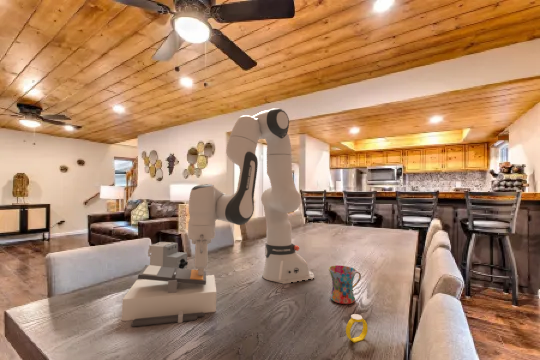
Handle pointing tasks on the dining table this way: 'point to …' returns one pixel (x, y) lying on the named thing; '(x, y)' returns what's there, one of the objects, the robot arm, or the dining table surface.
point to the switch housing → (168, 298)
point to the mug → (343, 284)
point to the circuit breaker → (167, 255)
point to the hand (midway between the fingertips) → (200, 274)
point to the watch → (348, 328)
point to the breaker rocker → (172, 274)
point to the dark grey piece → (167, 319)
